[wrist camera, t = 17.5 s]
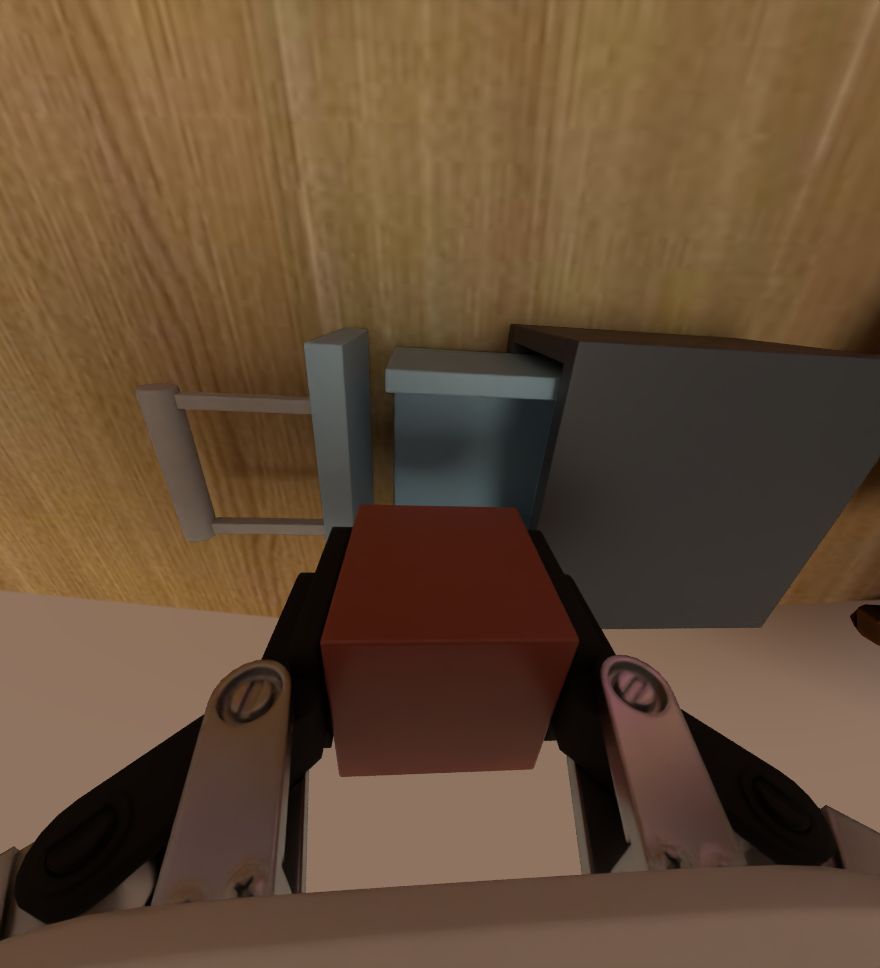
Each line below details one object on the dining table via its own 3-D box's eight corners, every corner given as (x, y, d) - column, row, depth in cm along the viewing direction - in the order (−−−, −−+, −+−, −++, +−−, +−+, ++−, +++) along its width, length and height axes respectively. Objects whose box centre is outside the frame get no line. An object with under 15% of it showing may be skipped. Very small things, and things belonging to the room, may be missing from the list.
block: (365, 617, 12) (338, 779, 8) (358, 503, 10) (318, 643, 6) (495, 616, 12) (534, 771, 8) (516, 506, 10) (582, 640, 6)
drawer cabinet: (482, 525, 24) (513, 630, 16) (510, 323, 18) (579, 340, 10) (655, 528, 25) (761, 628, 17) (735, 338, 19) (946, 362, 12)
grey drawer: (236, 522, 22) (167, 607, 16) (185, 318, 16) (51, 328, 10) (532, 526, 23) (573, 606, 17) (572, 341, 18) (652, 362, 12)
